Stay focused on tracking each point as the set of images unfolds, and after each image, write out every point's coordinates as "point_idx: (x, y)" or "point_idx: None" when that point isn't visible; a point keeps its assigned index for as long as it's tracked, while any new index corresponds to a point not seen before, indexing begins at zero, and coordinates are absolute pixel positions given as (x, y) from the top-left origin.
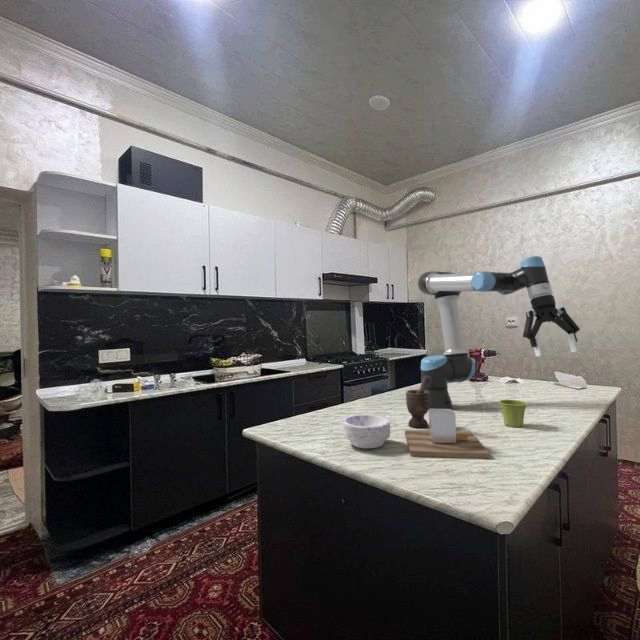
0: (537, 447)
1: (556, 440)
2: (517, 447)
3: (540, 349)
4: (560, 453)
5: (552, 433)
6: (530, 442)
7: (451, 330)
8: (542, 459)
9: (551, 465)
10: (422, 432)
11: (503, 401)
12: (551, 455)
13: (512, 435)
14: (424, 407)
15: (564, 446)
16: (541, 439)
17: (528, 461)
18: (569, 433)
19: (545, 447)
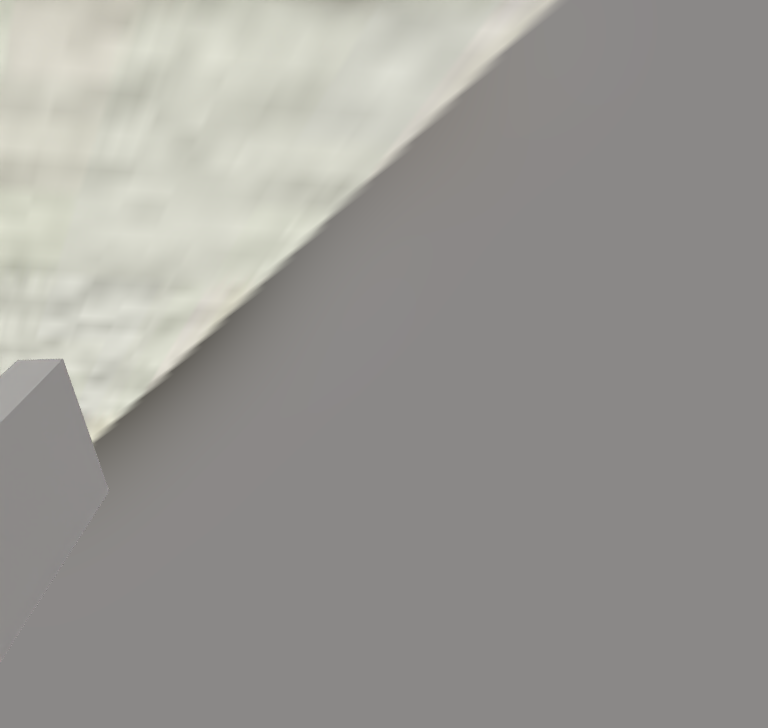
0: (104, 274)
1: (251, 184)
2: (4, 269)
3: (30, 584)
4: (179, 341)
5: (303, 43)
6: (91, 205)
7: None
8: (80, 386)
9: (94, 427)
10: None
11: None
12: (131, 356)
13: (9, 66)
14: None
15: (242, 269)
16: (173, 161)
17: None
18: (418, 54)
19: (144, 276)
